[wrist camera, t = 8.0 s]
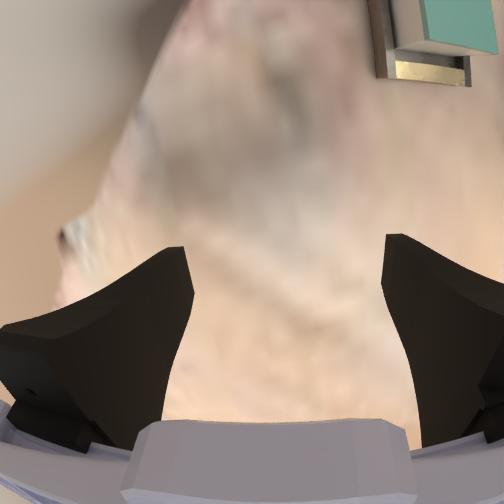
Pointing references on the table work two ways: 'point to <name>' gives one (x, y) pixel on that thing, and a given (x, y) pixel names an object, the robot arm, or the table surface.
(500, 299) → the robot arm
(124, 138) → the table surface
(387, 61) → the grey rectangular tray
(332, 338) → the table surface
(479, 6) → the teal rectangular brick
